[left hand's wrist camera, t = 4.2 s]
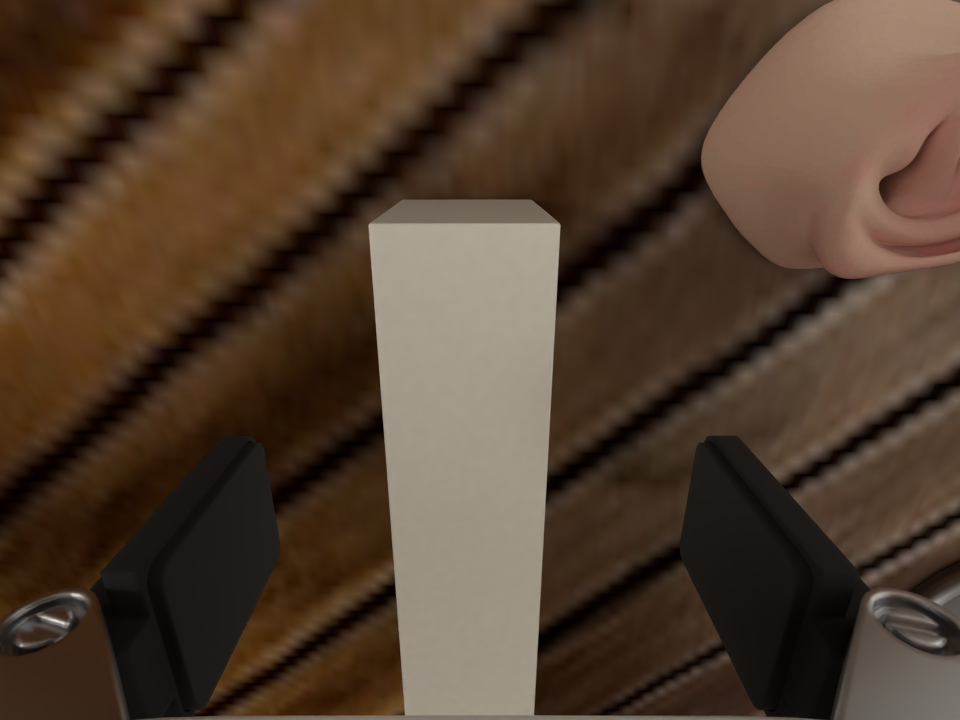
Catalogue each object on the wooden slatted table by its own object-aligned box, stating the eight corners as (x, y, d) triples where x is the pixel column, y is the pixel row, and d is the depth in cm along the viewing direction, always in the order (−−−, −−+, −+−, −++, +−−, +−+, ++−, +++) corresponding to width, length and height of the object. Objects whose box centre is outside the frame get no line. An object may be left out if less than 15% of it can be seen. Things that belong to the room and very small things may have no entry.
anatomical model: (700, 228, 20) (899, -142, 16) (663, 215, 23) (817, -86, 19) (984, 352, 22) (1223, 51, 18) (909, 322, 25) (1093, 68, 21)
